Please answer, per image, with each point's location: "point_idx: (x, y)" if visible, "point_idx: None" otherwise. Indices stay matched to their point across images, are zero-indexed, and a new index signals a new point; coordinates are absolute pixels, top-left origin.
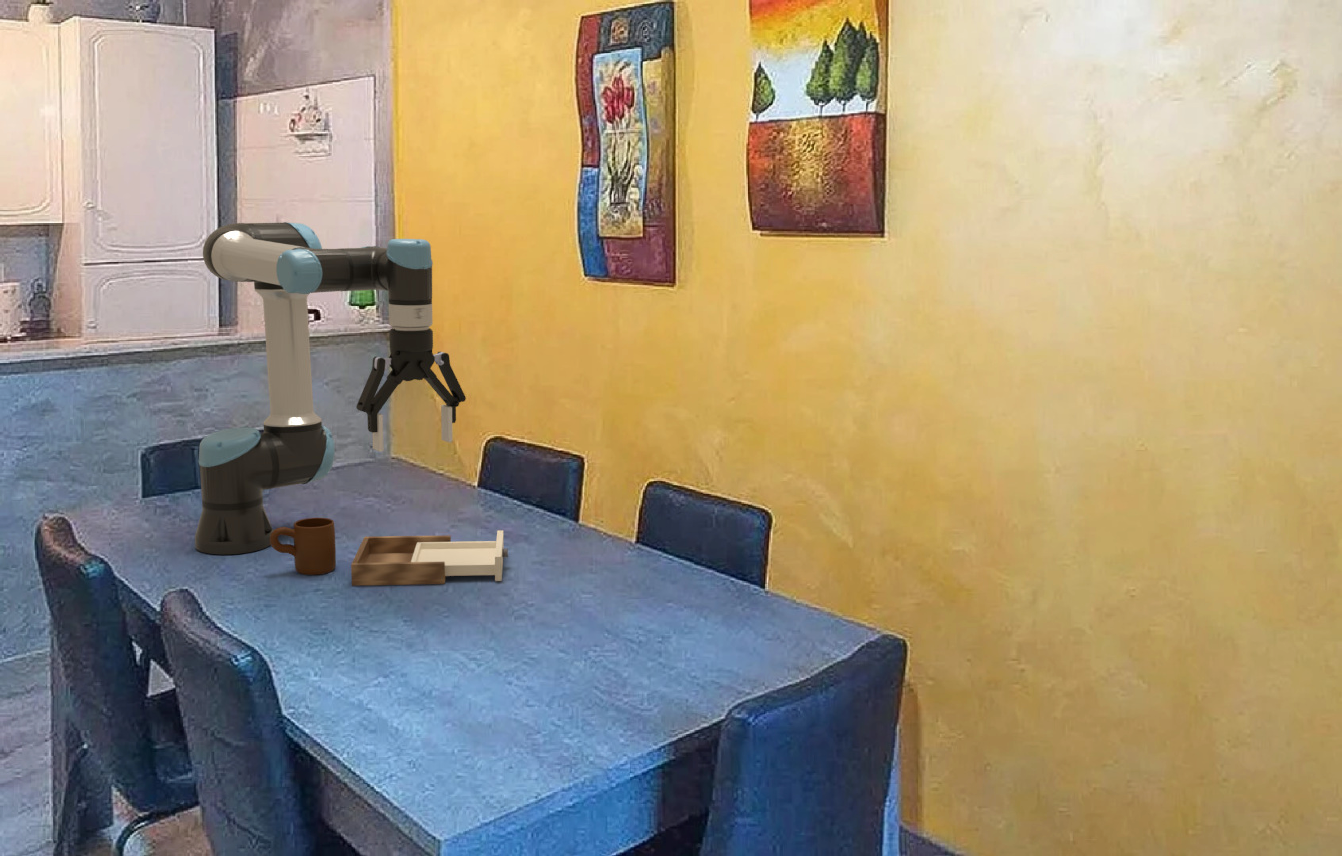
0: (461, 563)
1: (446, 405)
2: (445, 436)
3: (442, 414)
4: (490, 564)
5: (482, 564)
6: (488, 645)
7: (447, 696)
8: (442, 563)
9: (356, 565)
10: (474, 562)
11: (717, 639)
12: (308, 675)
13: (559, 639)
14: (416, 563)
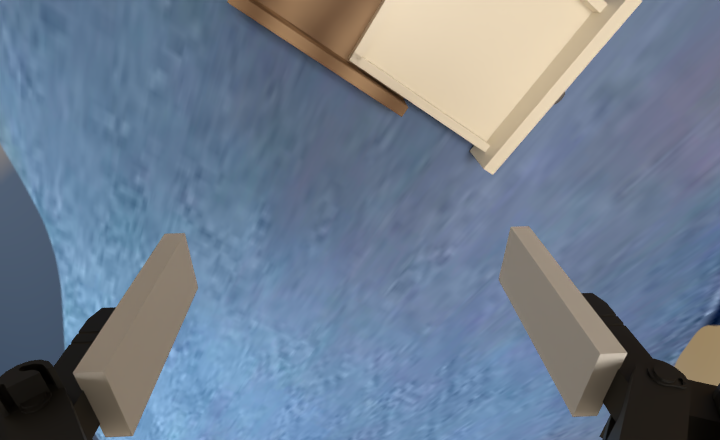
0: (463, 68)
1: (614, 373)
2: (511, 270)
3: (566, 321)
4: (480, 145)
5: (469, 137)
6: (317, 336)
7: (221, 404)
8: (398, 114)
9: (238, 9)
10: (486, 79)
11: (516, 417)
12: (92, 311)
13: (393, 356)
14: (355, 84)
